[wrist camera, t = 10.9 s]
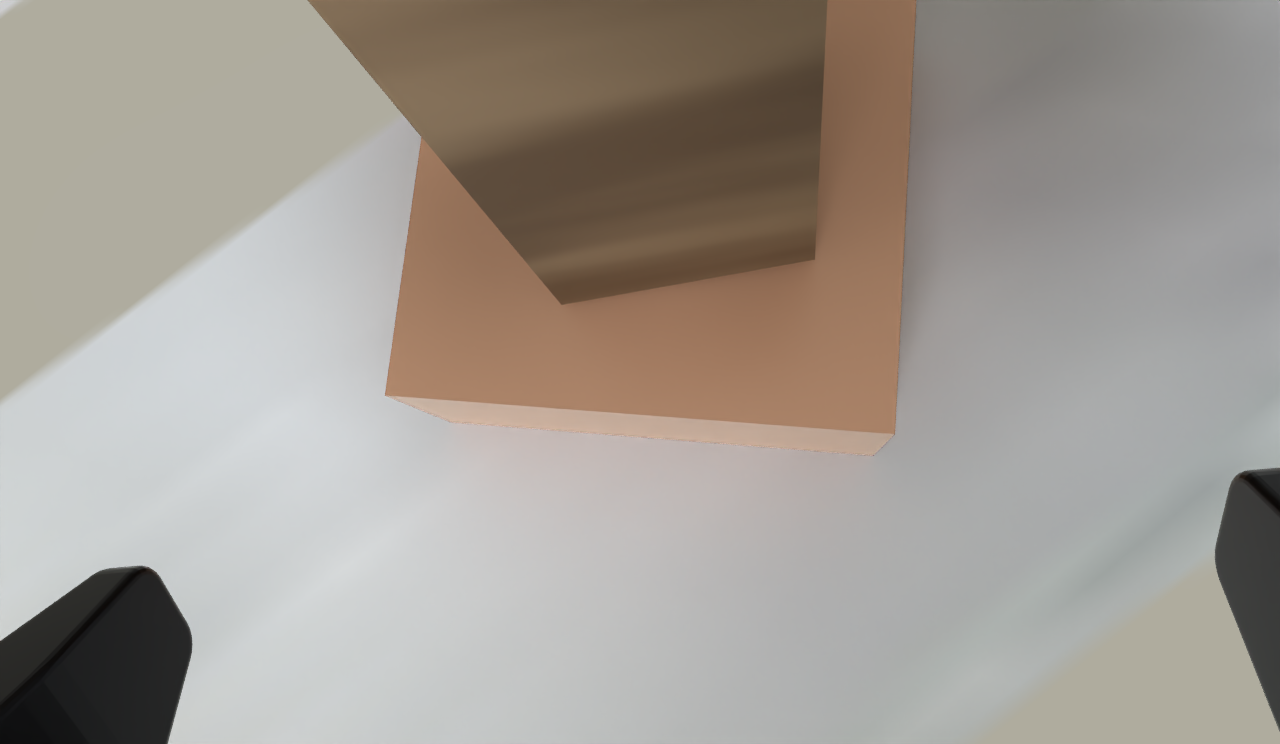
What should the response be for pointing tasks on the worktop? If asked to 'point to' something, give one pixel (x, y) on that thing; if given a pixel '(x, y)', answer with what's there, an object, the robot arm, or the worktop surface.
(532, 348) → the terracotta riser
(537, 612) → the worktop surface
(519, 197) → the walnut block
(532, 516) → the worktop surface
